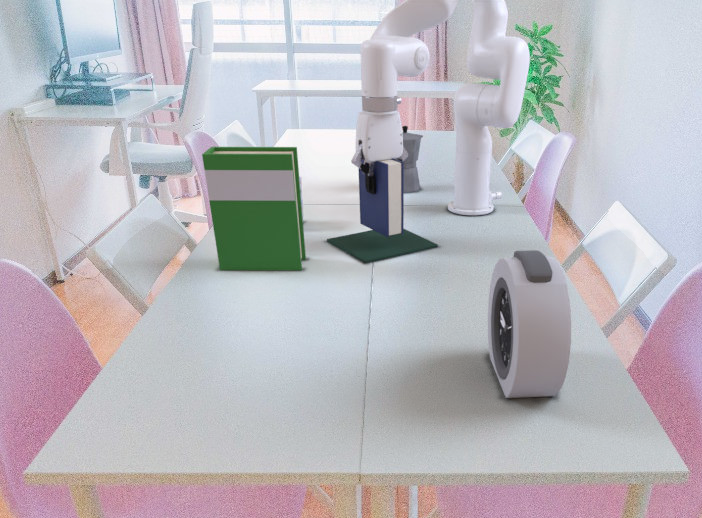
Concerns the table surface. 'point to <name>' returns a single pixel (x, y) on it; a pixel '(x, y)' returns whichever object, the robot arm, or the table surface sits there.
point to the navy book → (383, 198)
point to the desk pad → (380, 245)
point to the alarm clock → (529, 325)
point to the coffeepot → (411, 160)
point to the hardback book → (255, 207)
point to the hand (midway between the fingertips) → (380, 190)
